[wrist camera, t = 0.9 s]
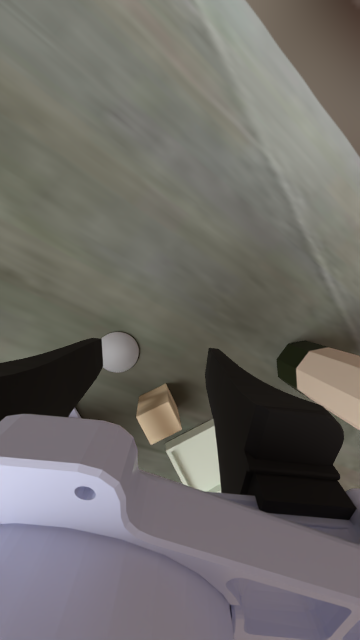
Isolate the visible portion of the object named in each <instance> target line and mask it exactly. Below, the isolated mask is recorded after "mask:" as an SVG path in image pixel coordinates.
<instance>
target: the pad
mask: <svg viewBox="0 0 360 640" xmlns="http://www.w3.org/2000/svg"><path fill="white" fill-rule="evenodd" d="M102 354H103V368H105V369H106V370H108V371H111V372H123V371H126V370H128V369H130V368H131V367H132V366H133V365H134V364H135V363H136V361H137V359H138V355H139V348H138V345H137V342H136V341H135V340H134V338H133V337H131V336H130V335H128V334H126V333H123V332H113V333H109V334H107V335H106V336H104V337H103V338H102Z"/></svg>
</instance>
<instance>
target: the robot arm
mask: <svg viewBox="0 0 360 640" xmlns="http://www.w3.org/2000/svg"><path fill="white" fill-rule="evenodd" d="M102 367H103V354H102V339H98V338H90V339H86V340H83V341H80V342H77V343H74V344H71V345H68V346H65V347H63V348H59V349H56V350H53V351H50V352H47V353H43V354H40V355H36V356H32V357H28V358H24V359H19V360H14V361H9V362H4V363H0V640H360V489H359V488H354V489H349V490H347V491H346V492H345V491H344V489H343V488H342V486H341V485H340V484H339V482H338V481H337V480H339V479H340V474H339V473H338V471H337V470H336V469H335V467H334V466H333V463H334V461H335V459H336V457H337V455H338V453H339V451H340V449H341V447H342V444H343V440H344V431H343V429H342V427H341V425H340V424H339V423H338V422H337V421H336V419H335V418H334V417H333V416H332V415H331V414H330V413H329V412H328V411H327V410H326V409H325V408H324V407H323V406H321V405H318V404H315V403H312V402H309V401H306V400H303V399H301V398H298V397H295V396H293V395H290V394H288V393H285V392H283V391H281V390H278V389H276V388H274V387H272V386H270V385H268V384H266V383H264V382H263V381H261V380H259V379H257V378H256V377H254V376H252V375H251V374H249V373H248V372H246V371H245V370H244V369H242V368H241V367H239V366H238V365H237V364H236V363H234V362H233V361H232V360H231V359H230V358H228V357H227V356H226V355H225V354H224V353H223V352H222V351H220V350H219V349H214V348H209V351H208V358H207V365H206V372H205V379H206V389H207V393H208V398H209V402H210V407H211V411H212V415H213V420H214V426H215V434H216V443H217V452H218V461H219V472H220V483H221V493H217V492H205V491H202V490H199V489H196V488H193V487H190V486H187V485H184V484H181V483H178V482H175V481H172V480H169V479H166V478H163V477H160V476H158V475H155V474H152V473H149V472H146V471H143V470H140V469H139V468H138V449H137V446H136V443H135V441H134V438H133V436H132V435H131V434H130V433H129V432H127V431H126V430H125V429H124V428H123V427H121V426H120V425H118V424H114V423H111V422H107V421H104V420H93V419H82V418H81V417H80V415H79V413H78V412H77V410H76V408H75V406H76V405H77V404H78V402H79V401H80V400H81V398H82V397H83V396H84V394H85V393H86V392H87V390H88V389H89V388H90V386H91V385H92V384H93V382H94V381H95V379H96V378H97V376H98V375H99V373H100V371H101V369H102Z"/></svg>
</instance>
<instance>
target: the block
mask: <svg viewBox="0 0 360 640" xmlns="http://www.w3.org/2000/svg"><path fill="white" fill-rule="evenodd" d="M136 418H137V420H138V422H139V424H140V425H141V427H142V429H143V431H144V433H145V435H146V437H147V439H148V441H149V442H150V444H151V445H152V444H154V443H156V442H158V441H160V440H162V439H164V438H166V437H168V436H170V435H172V434H174V433H176V432H178V431H180V430H182V427H181V422H180V418H179V413H178V408H177V406H176V403H175V401H174V399H173V397H172V395H171V393H170V391H169V389H168V387H167V385H166V384H164V385H162V386H160V387H158V388H156V389H154V390H151V391H149V392H147V393H145V394H143V395H141V396H139V401H138V408H137V415H136Z"/></svg>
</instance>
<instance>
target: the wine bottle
mask: <svg viewBox="0 0 360 640" xmlns="http://www.w3.org/2000/svg"><path fill="white" fill-rule="evenodd" d="M277 368H278V377H279V378H280V379H282V380H283V381H284V382H286V383H287V384H288V385H290V386H291V387H293V388H294V389H296V390H297V391H299V392H300V393H302V394H304V395H305V396H307V397H308V398H310V399H311V400H313V401H314V402H316V403H318V404H319V405H321V406H323V407H324V408H325V409H327V410H329V411H330V412H332V413H333V414H335V415H336V416H338V417H339V418H341V419H343V420H344V421H346V422H347V423H349V424H350V425H352V426H353V427H355V428H357V429H358V430H360V356H358V355H354V354H351V353H347V352H344V351H340V350H336V349H333V348H329V347H326V346H322V345H319V344H315V343H311V342H308V341H301V342H296V343H291V344H288V345H287V346H286V347H285V349H284V350H283V352H282V353H281V354H280V356H279V357H278V358H277Z"/></svg>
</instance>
